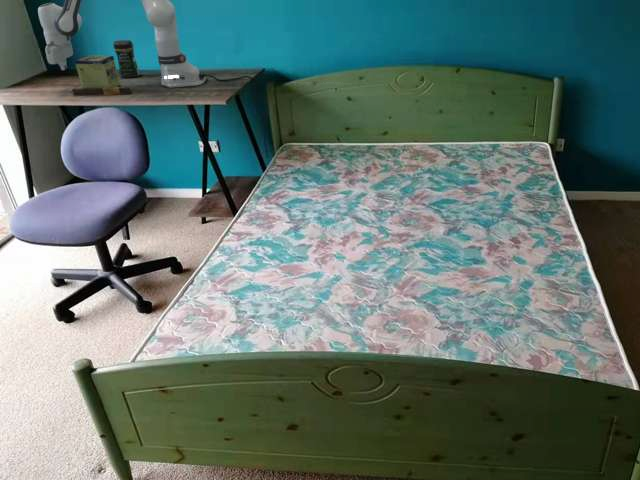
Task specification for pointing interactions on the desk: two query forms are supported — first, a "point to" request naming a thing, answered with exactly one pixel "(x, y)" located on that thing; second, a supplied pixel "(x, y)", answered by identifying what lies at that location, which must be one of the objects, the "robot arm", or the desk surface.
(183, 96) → the desk surface
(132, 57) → the coffee jar
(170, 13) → the robot arm
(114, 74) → the protein box
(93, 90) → the guide rail
